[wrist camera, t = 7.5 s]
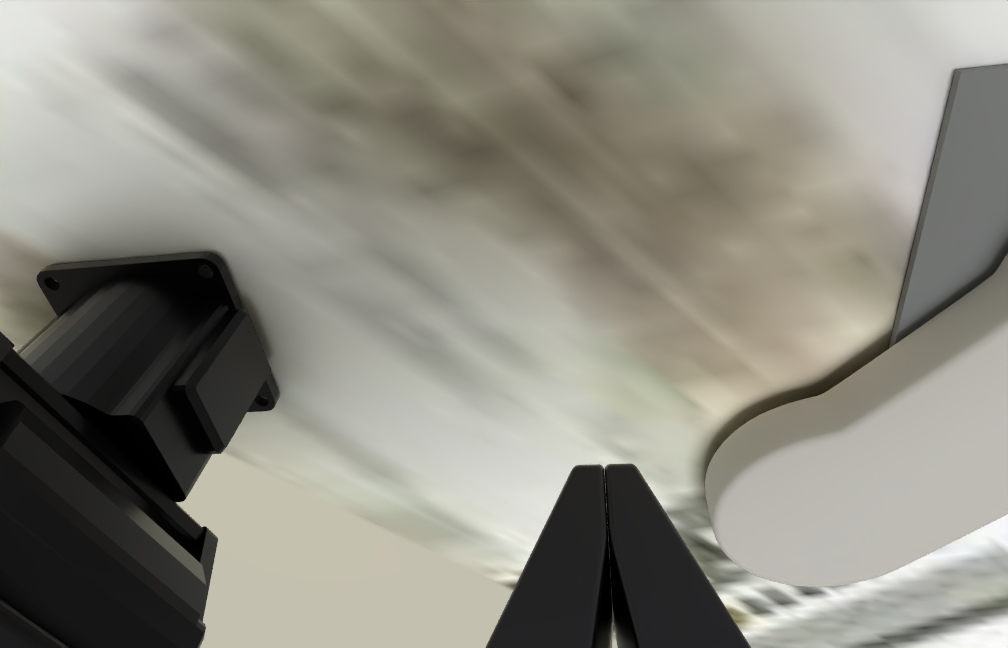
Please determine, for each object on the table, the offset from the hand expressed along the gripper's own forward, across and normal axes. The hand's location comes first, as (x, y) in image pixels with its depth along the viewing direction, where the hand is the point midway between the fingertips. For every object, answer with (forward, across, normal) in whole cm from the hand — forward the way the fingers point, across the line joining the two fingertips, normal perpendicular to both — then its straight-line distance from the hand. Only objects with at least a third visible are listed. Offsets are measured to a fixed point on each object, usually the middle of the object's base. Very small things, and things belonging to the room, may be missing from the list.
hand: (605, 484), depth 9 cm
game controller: (+10, -9, +6) cm, 15 cm away
